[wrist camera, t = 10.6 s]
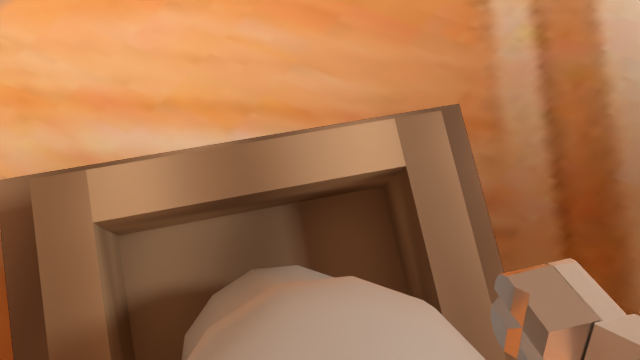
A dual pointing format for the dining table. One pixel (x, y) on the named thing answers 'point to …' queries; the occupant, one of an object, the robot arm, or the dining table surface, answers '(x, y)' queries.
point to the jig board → (246, 233)
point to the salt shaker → (319, 321)
